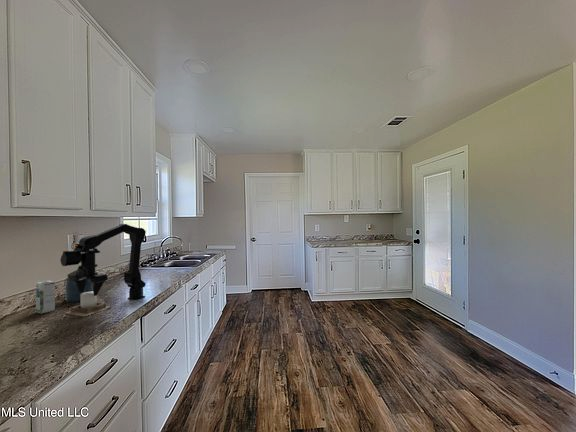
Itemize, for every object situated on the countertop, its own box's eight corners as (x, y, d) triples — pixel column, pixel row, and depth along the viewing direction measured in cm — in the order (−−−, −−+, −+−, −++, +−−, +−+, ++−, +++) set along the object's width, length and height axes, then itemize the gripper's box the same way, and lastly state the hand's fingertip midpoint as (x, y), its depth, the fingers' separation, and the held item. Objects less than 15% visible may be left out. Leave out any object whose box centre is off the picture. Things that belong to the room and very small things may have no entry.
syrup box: (35, 312, 134) (35, 282, 134) (50, 308, 139) (50, 279, 140) (40, 314, 132) (40, 283, 132) (55, 310, 137) (55, 280, 137)
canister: (61, 303, 147) (61, 270, 148) (68, 297, 159) (68, 266, 159) (91, 300, 153) (91, 268, 153) (96, 294, 165) (95, 264, 165)
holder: (91, 305, 144) (91, 300, 144) (111, 307, 140) (110, 302, 140) (65, 313, 131) (65, 308, 131) (85, 316, 127) (85, 311, 127)
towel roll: (90, 306, 140) (90, 290, 140) (99, 308, 138) (99, 291, 138) (77, 311, 134) (77, 294, 134) (86, 312, 132) (86, 295, 132)
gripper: (56, 264, 131) (56, 298, 131) (85, 266, 125) (85, 301, 125) (80, 261, 141) (81, 291, 141) (108, 262, 136) (108, 294, 136)
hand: (88, 294), depth 136 cm, fingers open, 9 cm apart
